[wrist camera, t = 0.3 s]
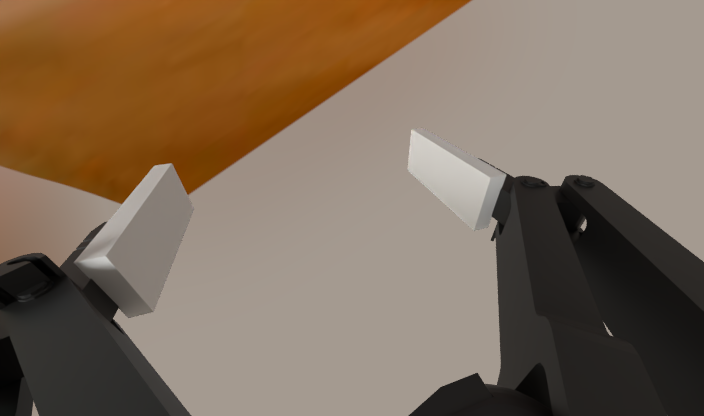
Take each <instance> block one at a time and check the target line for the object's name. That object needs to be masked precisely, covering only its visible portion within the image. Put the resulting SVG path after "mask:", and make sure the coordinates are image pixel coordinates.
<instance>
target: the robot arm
mask: <svg viewBox="0 0 704 416" xmlns="http://www.w3.org/2000/svg"><path fill="white" fill-rule="evenodd" d="M408 171H409V172H410V173H411V174H412V175H413V176H414V177H416V178H417V179H418V180H419V181H420V182H421V183H422V184H423V185H424V186H426V187H427V188H428V189H429V190H430V191H431V192H432V193H433V194H434V195H435V196H437V198H439V199H440V200H441V201H442V202H443V203H444V204H445V205H446V206H447V207H448V208H449V209H451V210H452V211H453V212H454V213H455V214H456V215H457V216H458V217H459V218H461V219H462V220H463V221H464V222H465V223H466V224H467V225H468V226H469V227H470V228H471V229H473V230H474V231H475V230H479V229H483V228H487V227H488V226H489V223H490V220H491V217H493V218H495V219H496V220H497V221H498V222H497V225H496V228H495V231H494V233H493V236H492V238H491V241H494V238H496V256H497V279H498V304H499V326H500V327H499V328H500V351H501V369H500V374H499V378H498V383H497V385H491V384H484V382H483V381H482V379H481V378H480V376H479V375H478V373H475V374H473V375H471V376H468V377H465V378H463V379H460V380H458V381H455V382H453V383H450V384H448V385H445V386H442V387H440V388H439V389H438V390H437V391H436V392H435V393H434V394H433V395H431V396H430V397H429V398H428V399H427V400H426V401H425V402H424V403H422V404H421V405H420V406H419V407H418V408H417V409H416V410H414V412H412V413H411V414H410V415H409V416H667V415H668V416H704V262H703V261H702V260H700V259H699V258H698V257H696V256H695V255H694V254H692V253H691V252H690V251H689V250H687V249H686V248H685V247H684V246H682V245H681V244H680V243H678V242H677V241H676V240H675V239H673V238H672V237H671V236H669V235H668V234H667V233H665V232H664V231H663V230H662V229H660V228H659V227H658V226H657V225H655V224H654V223H653V222H651V221H650V220H649V219H648V218H646V217H645V216H644V215H642V214H641V213H640V212H639V211H637V210H636V209H635V208H633V207H632V206H631V205H630V204H628V203H627V202H626V201H624V200H623V199H622V198H621V197H619V196H618V195H617V194H616V193H614V192H613V191H612V190H610V189H609V188H608V187H607V186H605V185H604V184H603V183H601V182H599V181H598V180H595V179H592V178H591V177H588V176H587V177H586V176H583V175H581V176H578V175H570V176H567V177H565V179H564V181H563V183H562V185H561V186H549V184H548V183H547V182H545V181H543V180H541V179H538V178H535V177H530V176H519V177H516V178H514V177H512V176H510V175H509V174H507V173H505V172H503V171H501V170H500V169H498V168H495V167H494V166H492V165H490V164H489V163H487V162H485V161H483V160H482V159H479V158H476V157H474V156H472V155H471V154H469V153H467V152H465V151H464V150H462V149H460V148H458V147H457V146H454V145H453V144H451V143H449V142H448V141H446V140H444V139H442V138H441V137H439V136H437V135H435V134H433V133H432V132H430V131H428V130H426V129H424V128H416V129H412V130H411V139H410V151H409V160H408ZM193 210H194V207H193V205H192V203H191V201H190V199H189V197H188V195H187V193H186V191H185V189H184V187H183V185H182V183H181V181H180V179H179V177H178V175H177V173H176V171H175V169H174V167H173V165H172V163H170V164H163V165H156V166H154V167H153V168H152V169H151V170H150V172H149V173H148V174H147V175H146V176H145V178H144V179H143V180H142V181H141V182H140V184H139V185H138V186H137V187H136V188H135V190H134V191H133V192H132V193H131V194H130V196H129V197H128V198H127V199H126V200H125V202H124V203H123V204H122V205H121V207H120V208H119V209H118V210H117V211H116V212H115V214H114V215H113V216H112V217H111V218H110V220H109V221H108V222H104V223H103V224H101V225H100V226H98V227H97V228H95V229H94V230H93V231H91V232H90V234H89V235H88V236H87V237H86V238H85V239H84V240H83V242H82V243H81V244H80V245H79V246H78V247H77V248H76V249H77V250H76V251H74V252H73V253H72V254H71V255H70V256H69V257H68V258H67V260H66V261H65V262H64V263H63V264H62V265H61V266H60V268H59V267H58V266H57V265H56V264H54V263H53V262H52V261H51V260H50V259H49V258H48V257H47V256H46V255H44V254H42V253H31V254H27V255H23V256H19V257H17V258H14V259H11V260H8V261H6V262H4V263H2V264H0V416H31V415H32V407H33V400H34V403H35V406H36V408H37V411H38V414H39V416H191V415H190V414H189V412H188V411H187V410H186V409H185V407H184V406H183V405H182V404H181V402H180V401H179V400H178V398H177V397H176V396H175V395H174V393H173V392H172V391H171V390H170V388H169V387H168V386H167V385H166V383H165V382H164V381H163V380H162V378H161V377H160V376H159V375H158V373H157V372H156V371H155V369H154V368H153V367H152V366H151V364H150V363H149V362H148V361H147V360H146V358H145V357H144V356H143V355H142V353H141V352H140V351H139V349H138V348H137V347H136V346H135V344H134V343H133V342H132V341H131V339H130V338H129V337H128V335H127V334H126V333H125V332H124V330H123V329H122V328H121V327H120V325H119V324H118V323H117V322H115V320H113V317H114V315H115V313H116V311H117V310H118V308H119V309H120V310H121V311H122V312H123V313H124V314H125V315H126V316H127V317H128V318H131V317H134V316H139V315H143V314H147V313H150V312H153V311H154V309H155V307H156V304H157V301H158V299H159V297H160V294H161V291H162V289H163V286H164V284H165V281H166V278H167V276H168V274H169V271H170V269H171V266H172V263H173V261H174V259H175V256H176V253H177V251H178V248H179V246H180V243H181V241H182V238H183V236H184V233H185V231H186V228H187V226H188V223H189V221H190V218H191V215H192V213H193ZM585 219H586V220H587V226H586V229H585V230H584V231H583V230H582V229H581V228H580V227H581V225H582V224H583V222H584V221H585ZM603 322H604V323H605V325H606V326H607V327H608V329H609V330H610V332H611V333H612V335H613V336H614V337H613V336H610V335H609V334H608V332H607V331H606V328H605V325H604V323H603Z"/></svg>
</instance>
